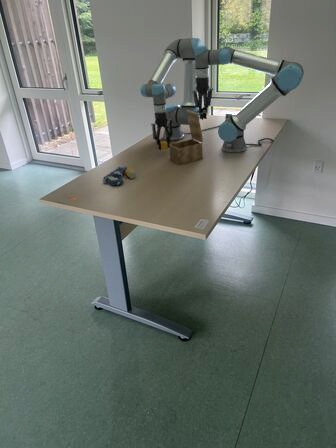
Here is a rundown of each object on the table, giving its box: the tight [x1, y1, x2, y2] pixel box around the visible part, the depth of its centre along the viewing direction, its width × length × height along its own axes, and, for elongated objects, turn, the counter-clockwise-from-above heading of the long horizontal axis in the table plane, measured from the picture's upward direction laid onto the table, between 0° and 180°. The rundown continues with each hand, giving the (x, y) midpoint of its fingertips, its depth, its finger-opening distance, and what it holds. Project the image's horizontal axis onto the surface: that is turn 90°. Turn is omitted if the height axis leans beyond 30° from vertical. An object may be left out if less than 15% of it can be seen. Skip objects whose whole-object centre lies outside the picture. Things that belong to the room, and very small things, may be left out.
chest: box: [168, 138, 204, 166], centre depth 207 cm, size 17×11×10 cm
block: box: [160, 140, 169, 151], centre depth 214 cm, size 4×4×4 cm
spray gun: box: [102, 165, 136, 187], centre depth 189 cm, size 21×4×15 cm
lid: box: [187, 110, 208, 143], centre depth 203 cm, size 18×11×9 cm
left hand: (164, 148), depth 215 cm, fingers closed on block, 5 cm apart
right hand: (203, 118), depth 202 cm, fingers closed on lid, 2 cm apart
